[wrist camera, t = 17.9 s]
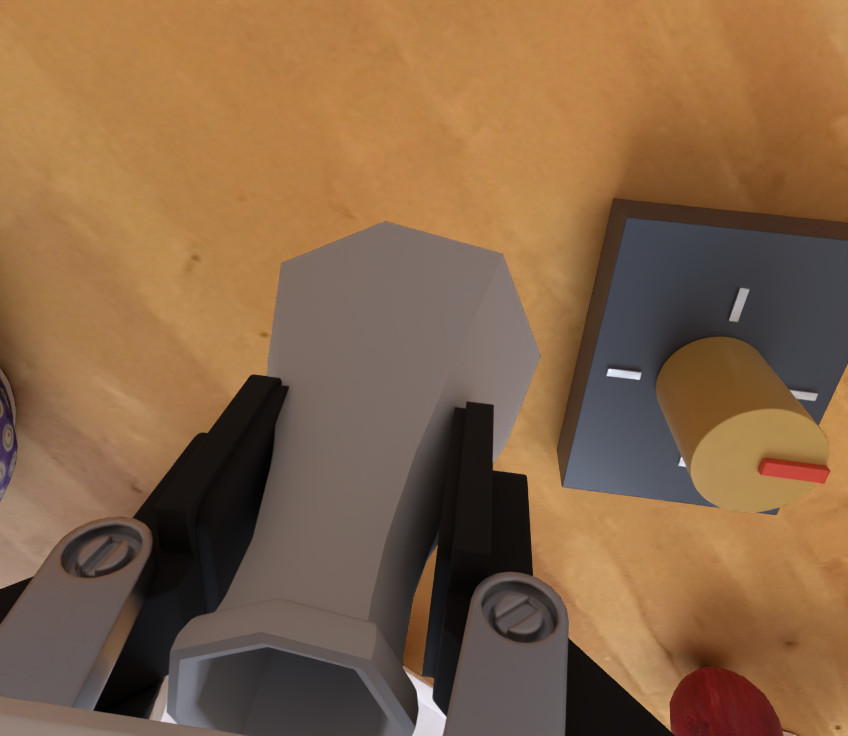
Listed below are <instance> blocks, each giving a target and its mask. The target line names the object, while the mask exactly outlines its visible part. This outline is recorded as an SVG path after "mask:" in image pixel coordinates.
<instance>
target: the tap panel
mask: <svg viewBox="0 0 848 736" xmlns="http://www.w3.org/2000/svg"><path fill="white" fill-rule="evenodd" d="M709 337H730V338H735V339H738V340H742V341H744V342H746V343H748V344H749V345H751V346H752V347H754V348H755V349H756V350H757V351H758V352H759V353H760V355H761V356H762V357H763V358H764V359H765V361H766V362H767V363H768V364H769V366H770V367H771V368H772V369H773V370H774V372H775V373H776V374H777V375H778V377H779V378H780V379H781V380H782V382H783V383H784V384H785V385H786V386H787V388H788V389H789V390H790V391H791V393H792V394H793V395H794V396H795V397H796V399H797V400H798V401H799V402H800V404H801V405H802V406H803V407H804V408H805V410H806V411H807V412H808V413H809V415H810V416H811V417H812V418H813V419H814V421H815V422H816V423H817V424H818V426H819V424H820V421H821V419H822V417H823V415H824V413H825V411H826V409H827V407H828V404H829V402H830V400H831V398H832V396H833V394H834V392H835V390H836V387H837V385H838V383H839V381H840V379H841V377H842V375H843V373H844V370H845V368H846V366H847V364H848V223H844V222H835V221H825V220H815V219H806V218H796V217H786V216H777V215H767V214H757V213H748V212H738V211H728V210H719V209H709V208H699V207H690V206H680V205H670V204H660V203H651V202H641V201H631V200H622V199H614V200H613V204H612V208H611V212H610V217H609V221H608V226H607V230H606V235H605V239H604V243H603V248H602V252H601V257H600V261H599V266H598V270H597V274H596V279H595V283H594V288H593V292H592V297H591V301H590V305H589V310H588V314H587V319H586V323H585V328H584V332H583V336H582V341H581V345H580V350H579V354H578V359H577V363H576V367H575V372H574V376H573V381H572V385H571V390H570V394H569V398H568V403H567V407H566V412H565V416H564V421H563V425H562V429H561V434H560V438H559V443H558V447H557V455H558V462H559V469H560V477H561V484H562V487H566V488H573V489H581V490H589V491H596V492H604V493H611V494H619V495H627V496H634V497H642V498H649V499H657V500H664V501H672V502H680V503H687V504H695V505H702V506H710V507H718V506H716V505H714V504H712V503H711V502H709V501H708V500H706V499H705V498H704V497H703V496H702V495H701V494H700V493H699V492H698V491H697V489H696V488H695V486H694V484H693V482H692V479H691V477H690V475H689V472H688V470H687V468H686V465H685V463H684V461H683V458H682V456H681V454H680V452H679V449H678V447H677V445H676V442H675V440H674V438H673V435H672V433H671V431H670V428H669V426H668V424H667V421H666V419H665V417H664V414H663V412H662V410H661V407H660V405H659V403H658V400H657V397H656V381H657V377H658V375H659V372H660V370H661V368H662V367H663V365H664V364H665V362H666V361H667V360H668V359H669V358H670V357H671V355H673V354H674V353H675V352H676V351H677V350H679V349H680V348H682V347H683V346H685V345H687V344H689V343H691V342H694V341H696V340H700V339H703V338H709ZM718 508H721V507H718ZM779 509H780V507H779V508H776V509H772V510H768V511H762V512H756V513H763V514H771V515H777V513H778V511H779Z"/></svg>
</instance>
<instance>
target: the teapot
mask: <svg viewBox="0 0 848 736" xmlns="http://www.w3.org/2000/svg"><path fill="white" fill-rule="evenodd" d="M15 423H16V408H15V402H14V397H13V393H12V390H11V387H10V383H9V381H8V380H7V378H6V376H5V375H4V373H3V371H2V370H1V369H0V501H1V499H2V497H3V495H4V493H5V491H6V489H7V486H8V484H9V481H10V479H11V476H12V473H13V470H14V468H15V465H16V457H17V446H18V445H17V438H16V432H15Z"/></svg>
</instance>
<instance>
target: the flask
mask: <svg viewBox="0 0 848 736" xmlns="http://www.w3.org/2000/svg"><path fill="white" fill-rule="evenodd" d="M540 356H541V355H540V353H539V350H538V347H537V344H536V342H535V339H534V336H533V334H532V331H531V328H530V326H529V323H528V320H527V318H526V315H525V312H524V309H523V307H522V304H521V301H520V299H519V296H518V293H517V291H516V288H515V285H514V283H513V280H512V277H511V274H510V272H509V269H508V266H507V264H506V261H505V258H504V256H503V254H502V253H498V252H495V251H491V250H487V249H484V248H480V247H477V246H473V245H469V244H466V243H462V242H459V241H455V240H451V239H448V238H444V237H440V236H437V235H433V234H430V233H426V232H422V231H419V230H415V229H411V228H408V227H404V226H401V225H397V224H393V223H390V222H386V221H385V222H382V223H380V224H377V225H375V226H372V227H370V228H367V229H365V230H362V231H360V232H357V233H355V234H352V235H350V236H347V237H345V238H342V239H340V240H337V241H335V242H332V243H330V244H327V245H325V246H322V247H320V248H318V249H315V250H313V251H310V252H308V253H305V254H303V255H300V256H298V257H295V258H293V259H290V260H288V261H285V262H283V263H281V269H280V276H279V283H278V291H277V298H276V305H275V313H274V320H273V327H272V335H271V342H270V350H269V357H268V372H267V376H269V377H277V378H280V379H281V380H282V384H281V385H284V386H289V389H288V392H287V394H286V397H285V400H284V403H283V405H282V408H281V411H280V413H279V416H278V419H277V422H276V425H275V433H274V441H273V450H272V458H271V467H270V471H269V475H268V479H267V483H266V487H265V491H264V495H263V499H262V503H261V507H260V511H259V515H258V519H257V523H256V527H255V531H254V535H253V539H252V541H251V543H250V545H249V547H248V549H247V552H246V554H245V556H244V558H243V560H242V562H241V564H240V566H239V569H238V571H237V573H236V575H235V577H234V579H233V581H232V583H231V586H230V588H229V590H228V592H227V594H226V596H225V598H224V599H223V601H222V602H221V604H220V605H219V607H218V608H217V610H216V611H215V612H213V613H209V614H204V615H200V616H197V617H195V618H193V619H191V620H190V621H189V622H188V623H187V625H186V626H185V627H184V628H183V629H182V630H181V631H180V632H179V633H178V635H177V637H176V639H175V642H174V644H173V646H172V648H171V650H170V663H169V679H168V696H167V713H168V714H169V715H170V716H171V718H172V719H173V720H174V721H175V722H176V723H177V724H180V725H186V726H192V727H198V728H205V729H211V730H217V731H223V732H230V733H236V734H242V735H248V736H412V735H413V733H414V730H415V728H416V723H417V717H418V712H419V706H418V697H417V690H416V688H415V687H414V685H413V683H412V681H411V680H410V678H409V677H408V675H407V673H406V672H405V670H404V669H403V653H404V647H405V642H406V636H407V630H408V625H409V619H410V613H411V607H412V602H413V597H414V594H415V591H416V589H417V586H418V583H419V581H420V578H421V575H422V573H423V570H424V567H425V565H426V562H427V560H428V559H429V557H430V556H431V554H432V552H433V551H434V549H435V548H436V546H437V545H438V540H439V532H440V524H441V516H442V508H443V500H444V492H445V484H446V476H447V468H448V460H449V452H450V444H451V436H452V428H453V420H454V412H455V407H459V408H466V402H467V401H469V402H477V403H485V404H493V405H494V429H493V463H494V462H495V460H496V459H497V457H498V456H499V454H500V453H501V451H502V450H503V448H504V447H505V445H506V443H507V441H508V438H509V436H510V433H511V431H512V428H513V425H514V423H515V420H516V418H517V415H518V413H519V410H520V407H521V405H522V402H523V400H524V397H525V395H526V392H527V390H528V387H529V384H530V382H531V379H532V377H533V374H534V372H535V369H536V366H537V364H538V361H539V359H540Z"/></svg>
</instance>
